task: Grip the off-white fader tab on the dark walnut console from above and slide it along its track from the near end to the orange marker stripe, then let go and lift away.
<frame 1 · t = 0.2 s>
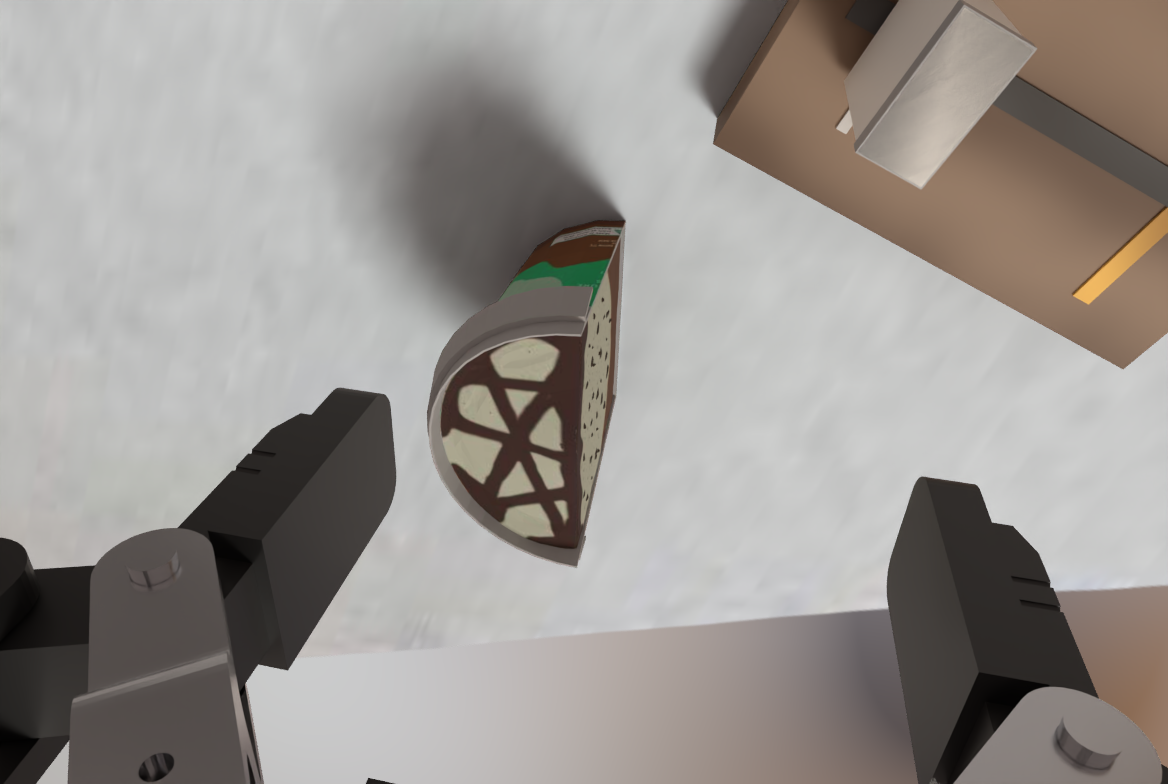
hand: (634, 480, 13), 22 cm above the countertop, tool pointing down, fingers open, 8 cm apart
fader console: (1033, 93, 28), on the countertop
food container: (554, 305, 38), on the countertop
fader tab: (924, 67, 23), point 6 cm above the countertop, slide at -5.5 cm
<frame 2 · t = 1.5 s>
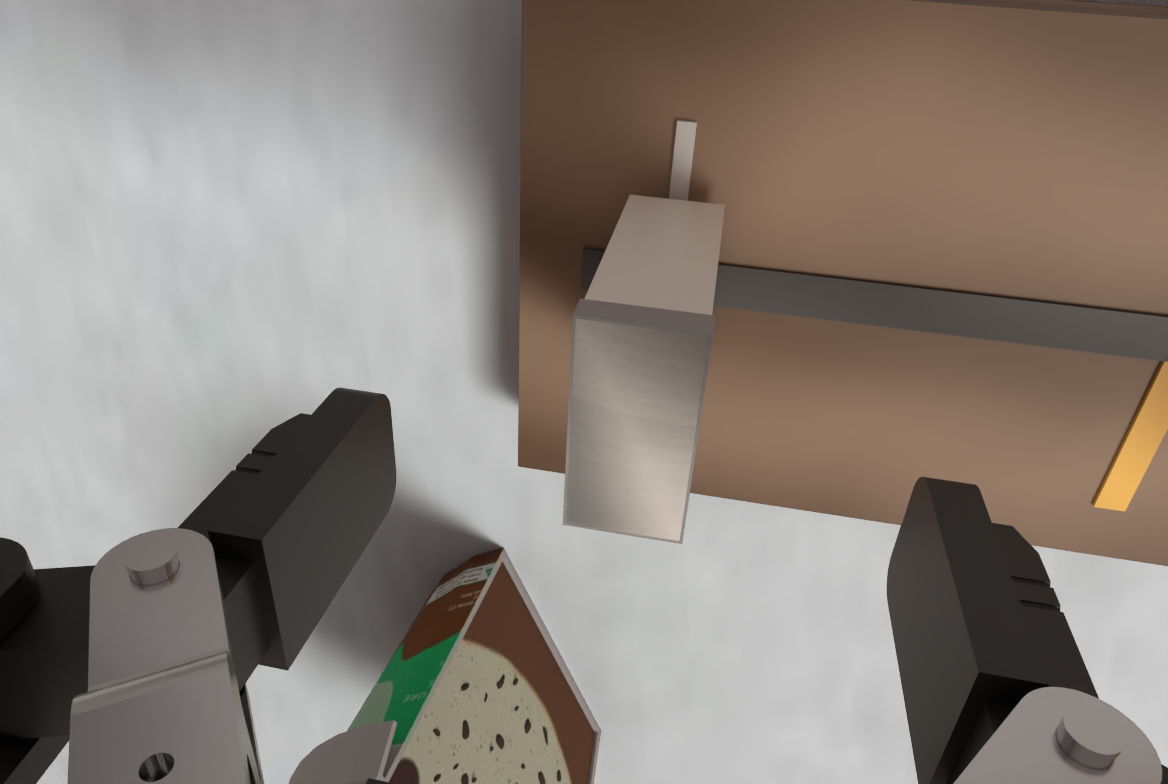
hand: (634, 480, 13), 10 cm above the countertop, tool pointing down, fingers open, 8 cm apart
fader console: (903, 264, 20), on the countertop
food container: (482, 651, 31), on the countertop
fader tab: (652, 350, 16), point 6 cm above the countertop, slide at -5.5 cm
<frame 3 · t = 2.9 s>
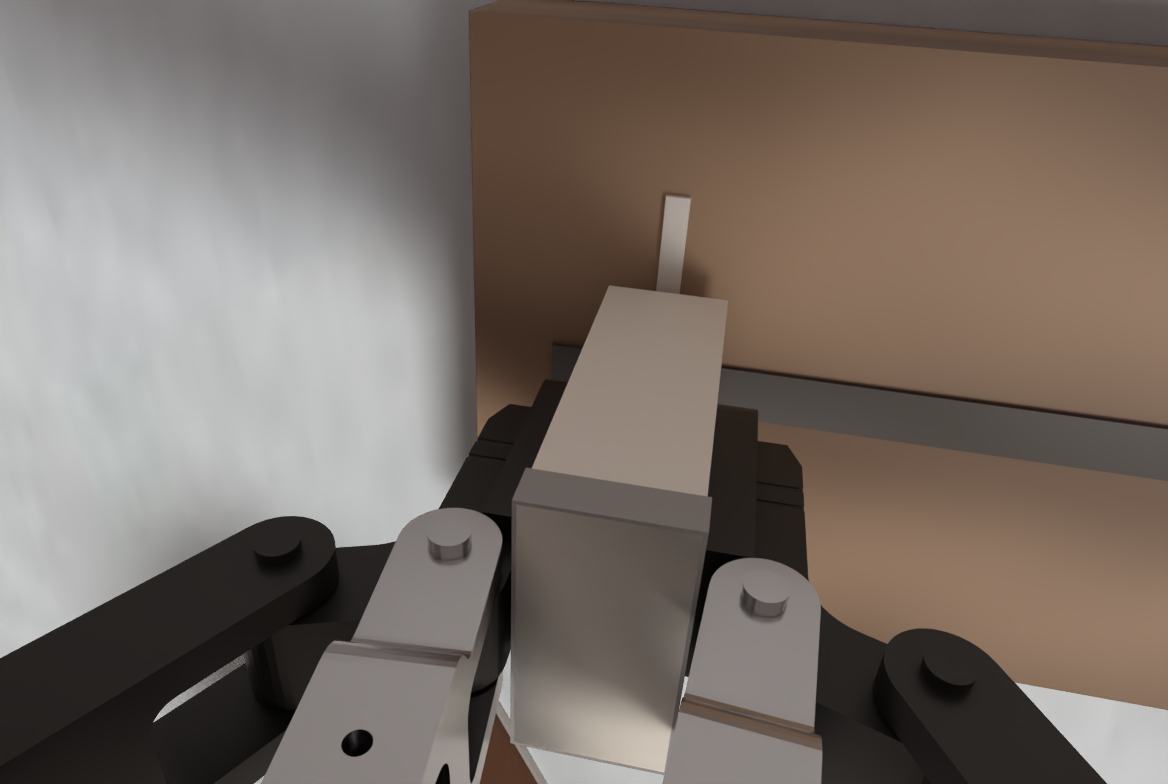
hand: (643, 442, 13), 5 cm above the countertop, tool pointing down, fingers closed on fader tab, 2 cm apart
fader console: (943, 358, 17), on the countertop
food container: (451, 761, 27), on the countertop
fader tab: (633, 496, 12), point 6 cm above the countertop, slide at -5.5 cm, touching gripper
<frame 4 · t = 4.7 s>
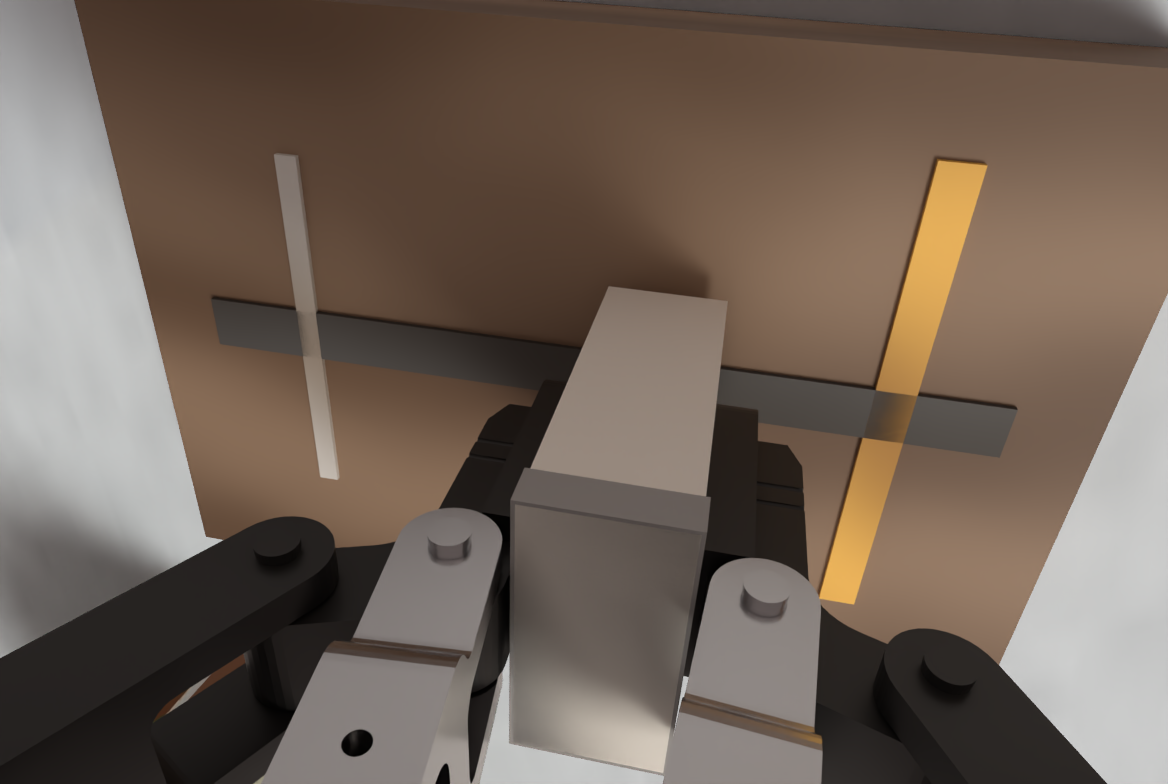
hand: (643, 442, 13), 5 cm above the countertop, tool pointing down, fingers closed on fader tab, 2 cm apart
fader console: (608, 315, 17), on the countertop
food container: (259, 721, 28), on the countertop
fader tab: (632, 496, 12), point 6 cm above the countertop, slide at 1.4 cm, touching gripper
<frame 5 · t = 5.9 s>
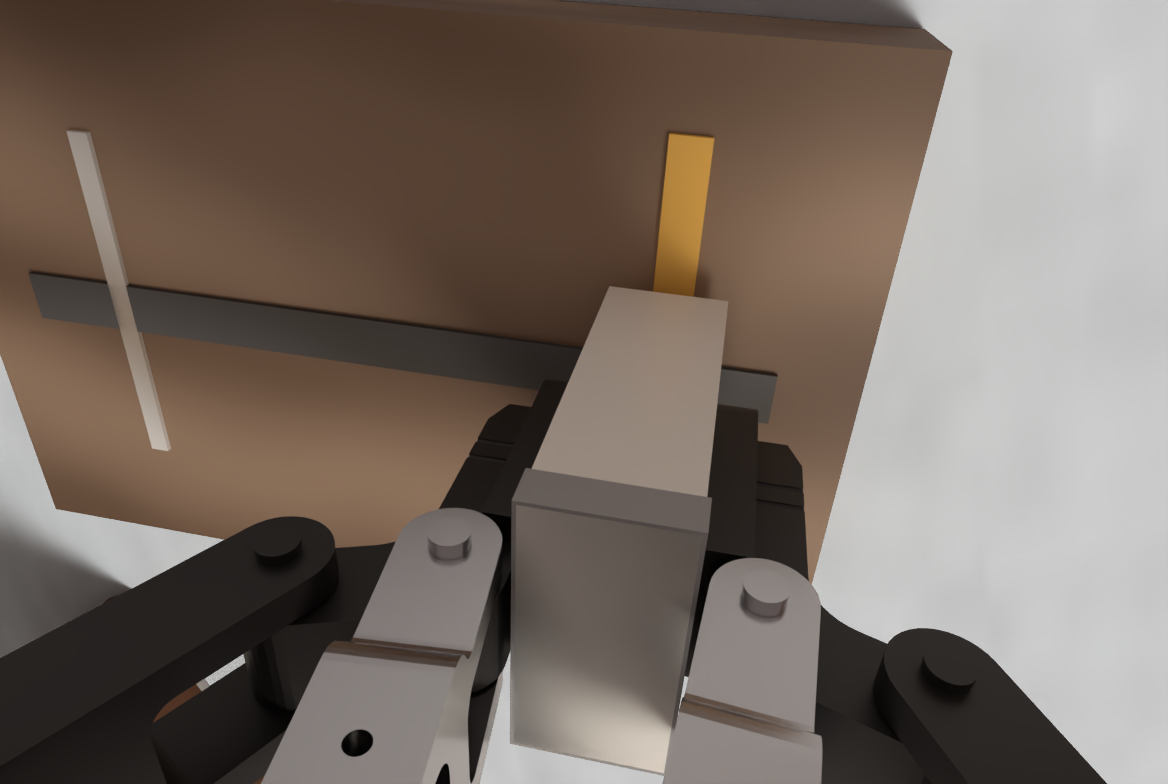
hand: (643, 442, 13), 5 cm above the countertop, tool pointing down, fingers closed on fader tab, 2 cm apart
fader console: (427, 291, 18), on the countertop
food container: (151, 697, 29), on the countertop
fader tab: (633, 496, 12), point 6 cm above the countertop, slide at 5.4 cm, touching gripper
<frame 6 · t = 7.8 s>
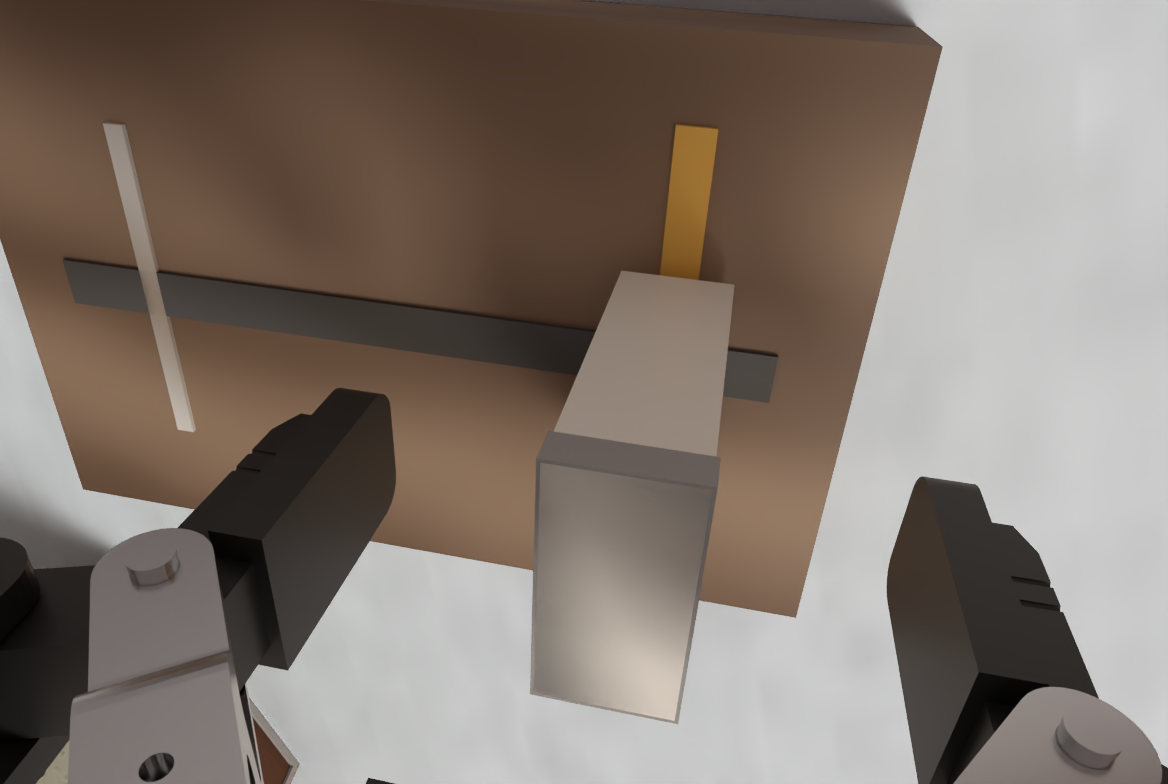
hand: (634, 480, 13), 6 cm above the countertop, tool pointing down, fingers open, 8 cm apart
fader console: (442, 279, 19), on the countertop
food container: (168, 679, 29), on the countertop
fader tab: (644, 467, 13), point 6 cm above the countertop, slide at 5.5 cm
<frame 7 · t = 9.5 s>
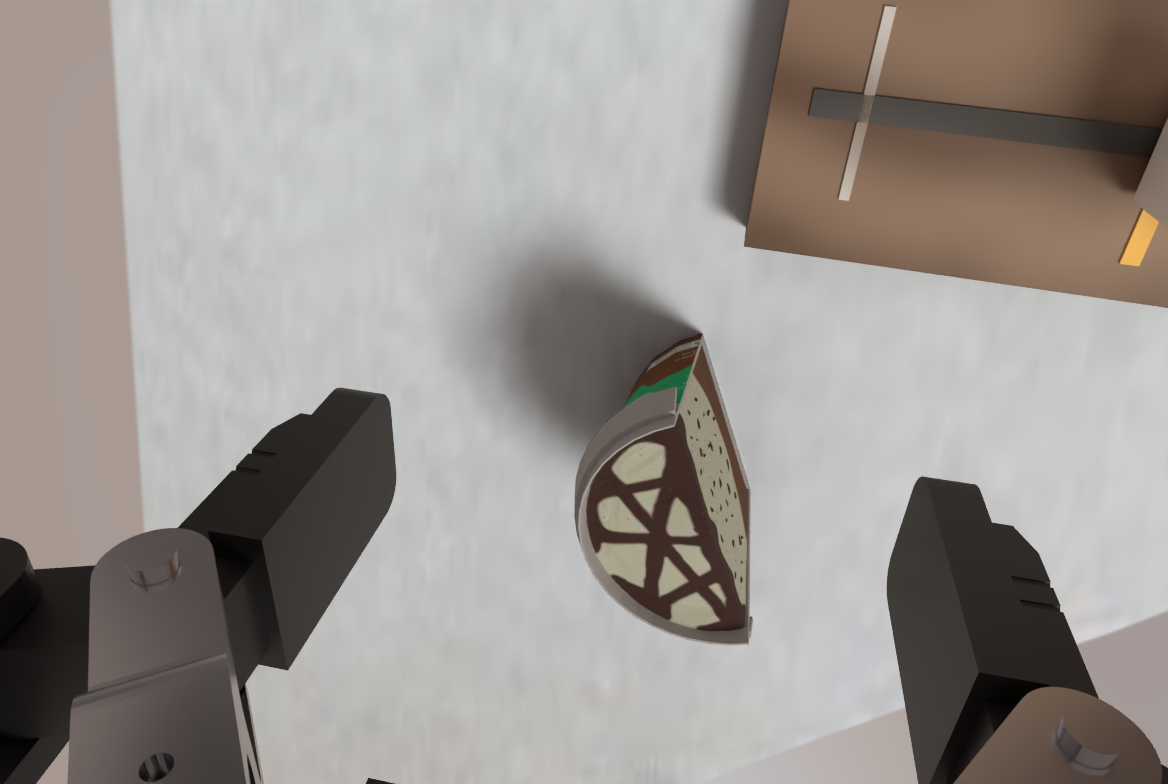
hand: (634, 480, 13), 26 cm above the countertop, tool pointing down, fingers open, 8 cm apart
fader console: (1003, 113, 32), on the countertop
food container: (669, 424, 43), on the countertop
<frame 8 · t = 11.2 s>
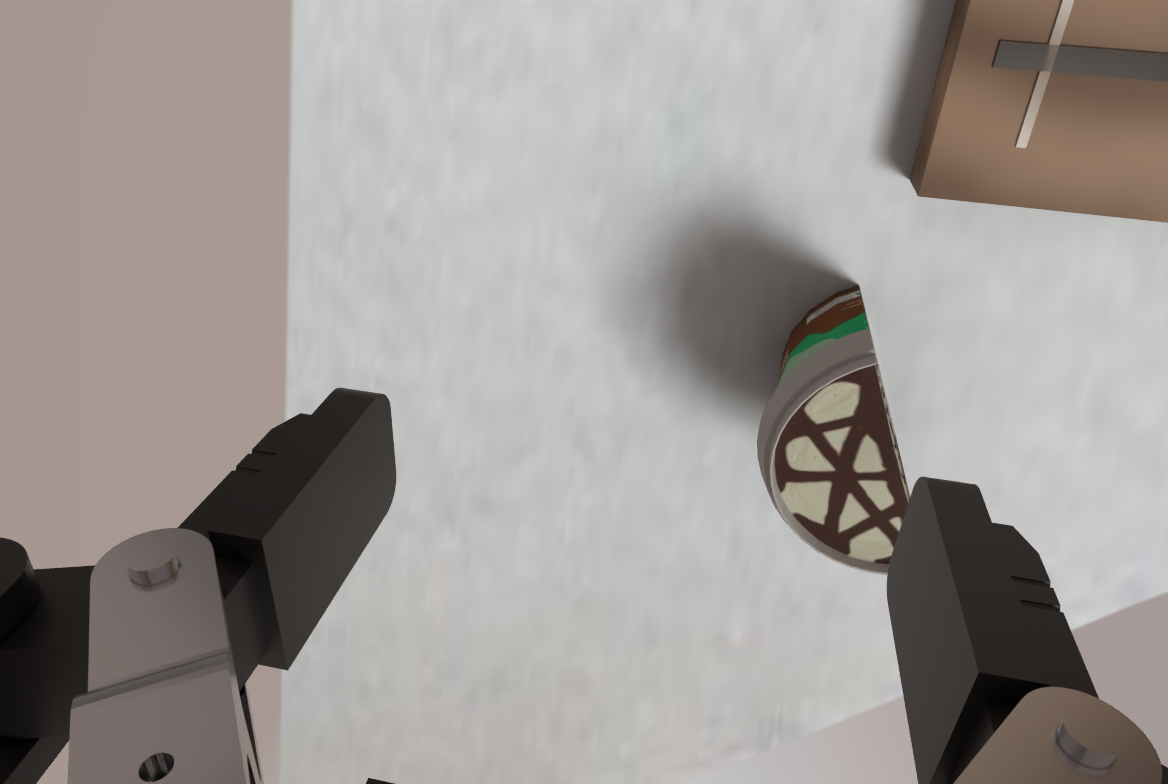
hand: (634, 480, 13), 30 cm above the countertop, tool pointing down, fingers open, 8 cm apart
food container: (819, 375, 44), on the countertop
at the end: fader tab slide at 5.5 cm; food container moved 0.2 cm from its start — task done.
